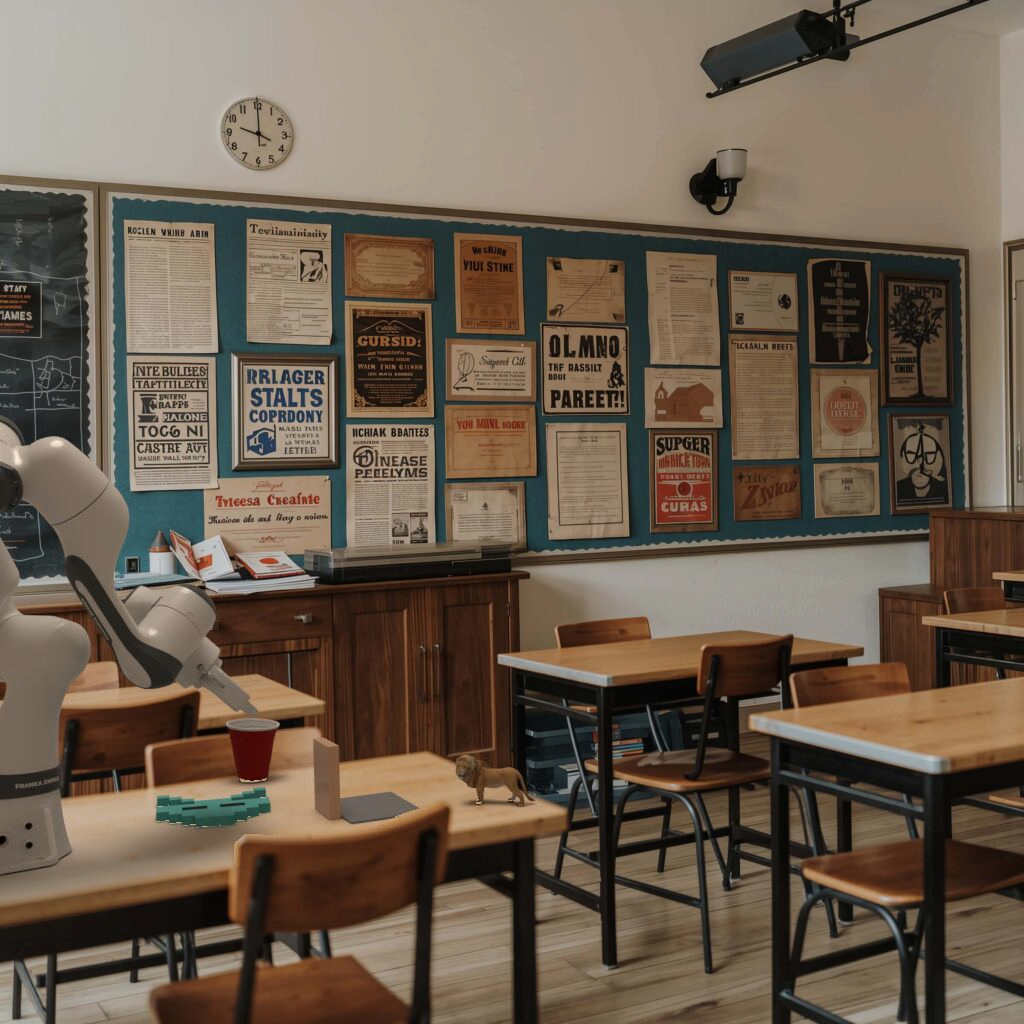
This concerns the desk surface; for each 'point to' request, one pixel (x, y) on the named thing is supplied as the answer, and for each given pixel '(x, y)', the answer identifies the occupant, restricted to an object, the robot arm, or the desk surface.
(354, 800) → the mat
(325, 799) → the tile
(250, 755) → the plastic cup
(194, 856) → the desk surface
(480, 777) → the lion figurine
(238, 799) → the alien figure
